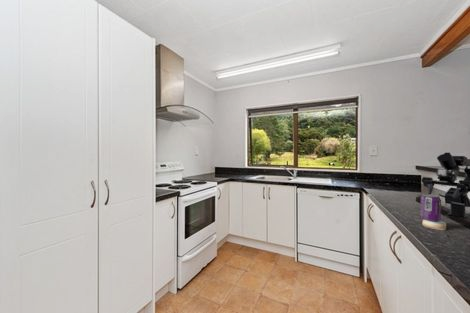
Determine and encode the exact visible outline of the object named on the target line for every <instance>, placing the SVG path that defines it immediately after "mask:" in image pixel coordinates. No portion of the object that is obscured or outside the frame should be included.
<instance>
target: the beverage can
mask: <svg viewBox="0 0 470 313" xmlns="http://www.w3.org/2000/svg"><path fill="white" fill-rule="evenodd" d="M440 197H441V196H440V195H437V194H432V193H431V194H427V193H423V194H421V197H420V208H419V209H420V210H419V211H420V212H419V214H420V218H421V219H422V220H423V219H425V220H428V221H434V222H436V221H442V219H441V218H442V200H441V198H440Z"/></svg>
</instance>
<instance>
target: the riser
mask: <svg viewBox="0 0 470 313" xmlns="http://www.w3.org/2000/svg"><path fill="white" fill-rule="evenodd" d="M422 226H423V227H425V228H428V229H432V230H437V231H446V230H447V222H444V221H443V220H440V221H436V222H434V221H428V220H425V219H423V218H422Z"/></svg>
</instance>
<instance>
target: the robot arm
mask: <svg viewBox="0 0 470 313" xmlns="http://www.w3.org/2000/svg"><path fill="white" fill-rule="evenodd" d="M437 161H438V163H439V164H440V166H441V167H442V168H443V169H441V168H438V169H436V173H435V176H436V179H433V177H429V176H423V177H421V182H422V184H423V186H424V187H425V188H427V192H428V194H431V195H432V193H433V191H434V186H435V185H440V186H445V187H449V188H448V190H446V192H445V193H444V200H445V204H448V205H449V213H448V212H447V215H448V216H449V215H450V216H453V217H458V218H467V217H469V215H468V214H466V208H470V198H469V195H468V194H469V192H470V168H469V167H470V158H468V157H467V156H465V155H452V154H451V152H444V153H442V154H440V155H438V156H437ZM460 167H464V169H463V172H464V173H465V176H466V177H465V178H464V179H457V178H458V175H459V174H460V173H461V171H460V170H461V169H460ZM457 180H459V181H458V182H456V181H457Z"/></svg>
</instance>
